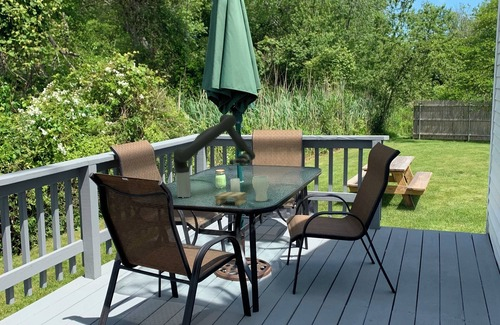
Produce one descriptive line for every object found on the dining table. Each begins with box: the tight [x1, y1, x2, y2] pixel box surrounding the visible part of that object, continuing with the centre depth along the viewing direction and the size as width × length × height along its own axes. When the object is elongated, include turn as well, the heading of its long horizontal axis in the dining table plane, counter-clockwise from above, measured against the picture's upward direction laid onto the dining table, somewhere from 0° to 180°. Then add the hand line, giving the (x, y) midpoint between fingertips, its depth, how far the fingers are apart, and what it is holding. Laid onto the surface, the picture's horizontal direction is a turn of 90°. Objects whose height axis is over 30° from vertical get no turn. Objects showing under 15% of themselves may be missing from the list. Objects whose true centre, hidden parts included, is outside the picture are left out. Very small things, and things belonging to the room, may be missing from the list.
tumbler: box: [230, 177, 241, 201], centre depth 330 cm, size 6×6×13 cm
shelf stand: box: [214, 191, 247, 207], centre depth 317 cm, size 16×12×6 cm
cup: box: [251, 175, 270, 202], centre depth 321 cm, size 11×11×15 cm
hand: (237, 163), depth 338 cm, fingers open, 8 cm apart
